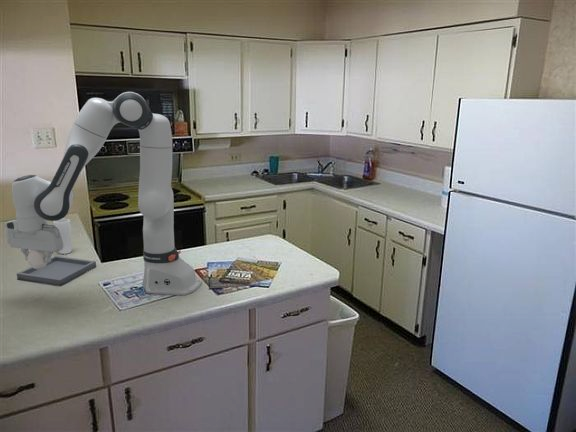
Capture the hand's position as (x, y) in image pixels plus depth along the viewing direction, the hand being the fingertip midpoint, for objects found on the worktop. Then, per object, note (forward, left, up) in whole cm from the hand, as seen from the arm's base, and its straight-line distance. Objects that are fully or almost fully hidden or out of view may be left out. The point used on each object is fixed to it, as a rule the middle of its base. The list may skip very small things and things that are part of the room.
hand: (38, 261), depth 152 cm
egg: (0, 0, -3) cm, 3 cm away
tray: (+10, -19, -14) cm, 25 cm away
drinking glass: (+24, -39, -14) cm, 48 cm away
